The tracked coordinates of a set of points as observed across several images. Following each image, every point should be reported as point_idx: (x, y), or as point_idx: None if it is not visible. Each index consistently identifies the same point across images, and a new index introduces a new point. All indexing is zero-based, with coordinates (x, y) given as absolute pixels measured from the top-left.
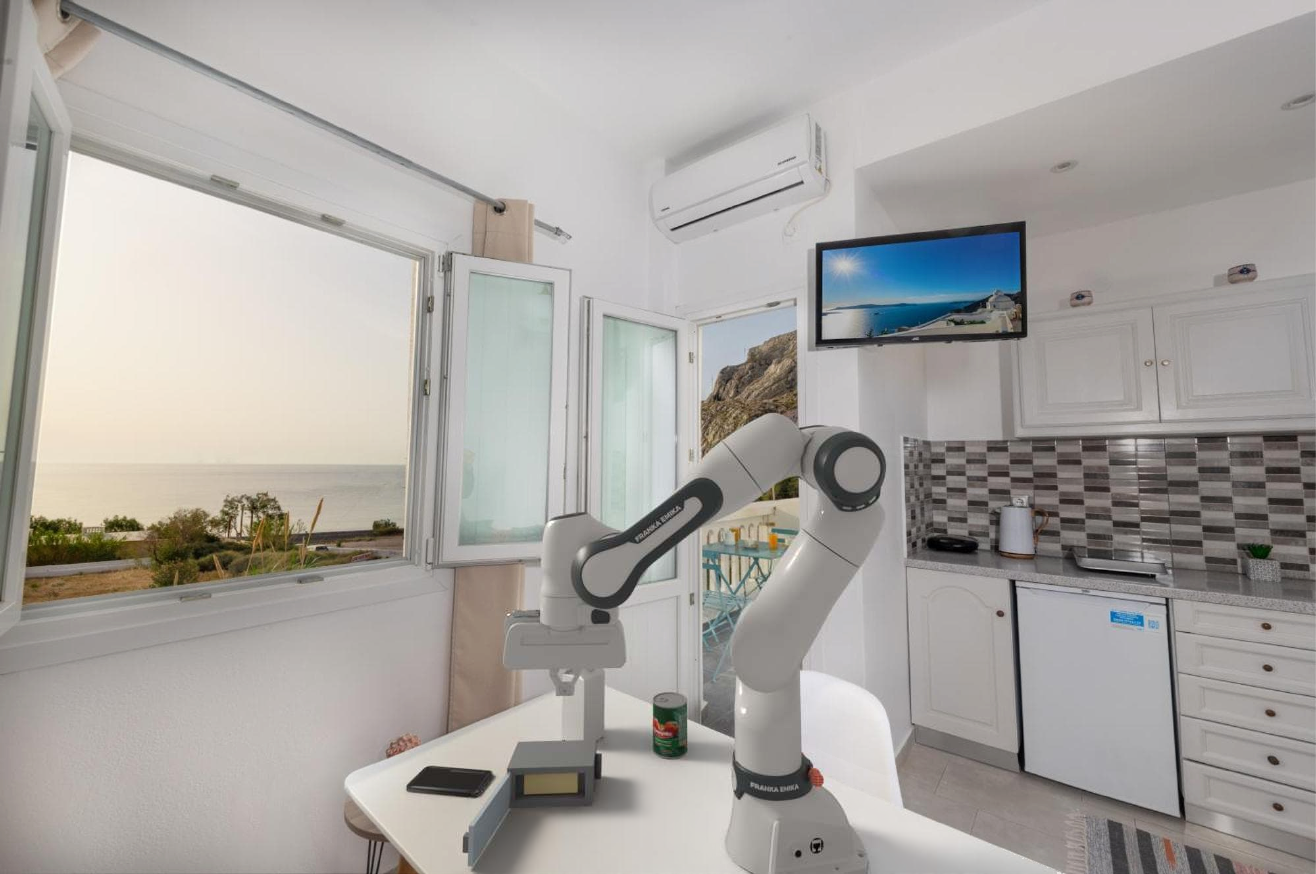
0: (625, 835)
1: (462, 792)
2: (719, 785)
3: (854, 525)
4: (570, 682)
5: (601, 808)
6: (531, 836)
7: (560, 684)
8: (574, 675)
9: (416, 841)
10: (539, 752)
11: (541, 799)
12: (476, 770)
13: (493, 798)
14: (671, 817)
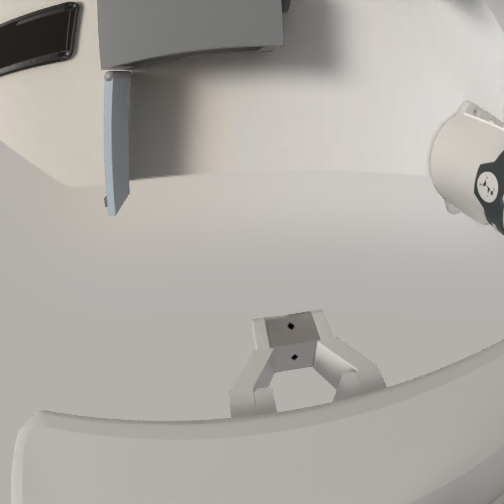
0: (324, 121)
1: (49, 62)
2: (445, 44)
3: None
4: (315, 351)
5: (285, 59)
6: (184, 124)
7: (274, 365)
8: (340, 372)
9: (43, 158)
10: (152, 4)
11: (179, 57)
12: (50, 8)
13: (111, 149)
14: (385, 92)
